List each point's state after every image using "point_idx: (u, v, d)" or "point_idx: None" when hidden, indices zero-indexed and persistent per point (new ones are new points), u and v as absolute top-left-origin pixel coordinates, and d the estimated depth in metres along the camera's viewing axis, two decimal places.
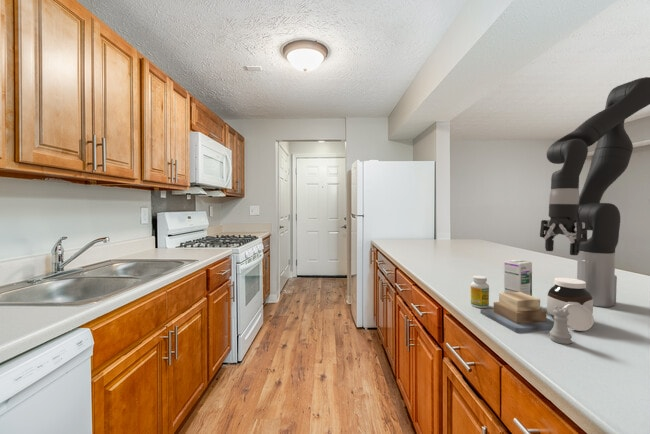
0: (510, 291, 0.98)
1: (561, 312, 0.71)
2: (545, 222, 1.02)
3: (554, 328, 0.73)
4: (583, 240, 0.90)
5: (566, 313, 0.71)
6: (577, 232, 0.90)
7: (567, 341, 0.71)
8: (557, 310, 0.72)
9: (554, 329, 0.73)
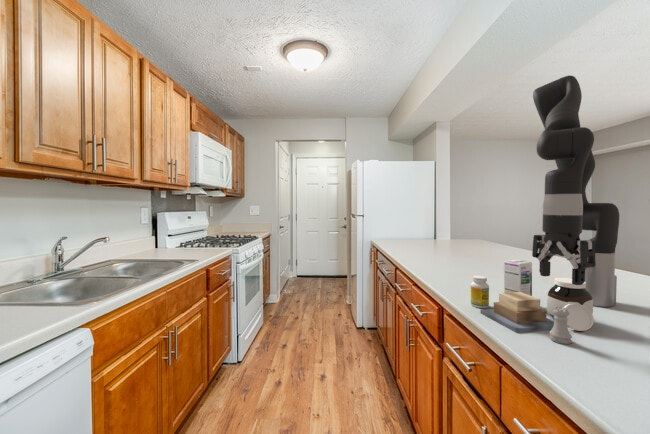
0: (510, 291, 0.98)
1: (561, 312, 0.71)
2: (539, 238, 0.77)
3: (554, 328, 0.73)
4: (590, 265, 0.65)
5: (566, 313, 0.71)
6: (581, 254, 0.66)
7: (567, 341, 0.71)
8: (557, 310, 0.72)
9: (554, 329, 0.73)
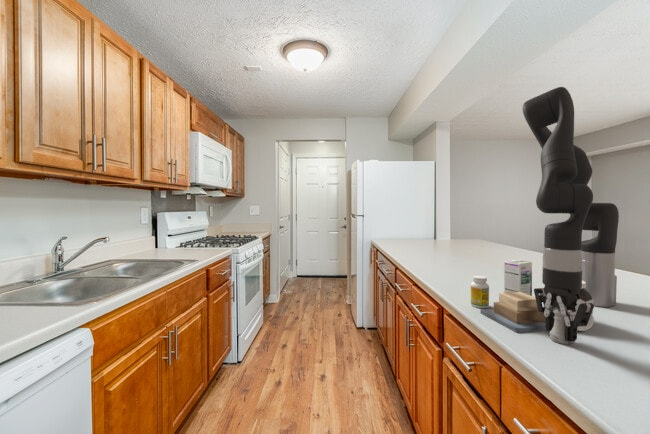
0: (510, 291, 0.98)
1: None
2: (539, 291, 0.78)
3: (554, 328, 0.73)
4: (581, 325, 0.68)
5: None
6: (577, 315, 0.67)
7: (567, 341, 0.71)
8: (557, 310, 0.72)
9: (554, 329, 0.73)
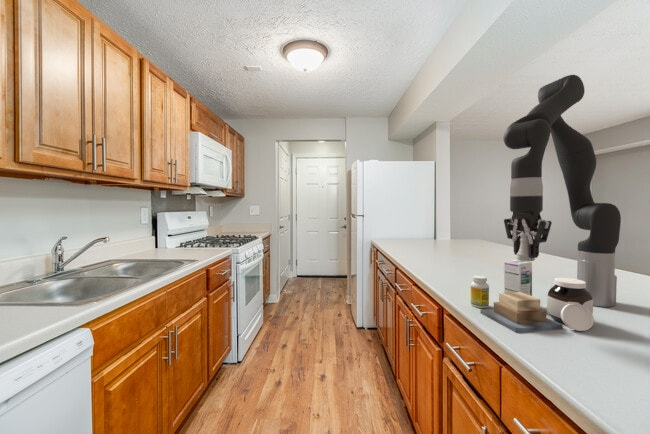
0: (510, 291, 0.98)
1: None
2: (508, 220, 0.88)
3: (520, 249, 0.83)
4: (542, 241, 0.78)
5: None
6: (538, 232, 0.78)
7: (531, 258, 0.81)
8: (522, 232, 0.82)
9: (520, 250, 0.83)
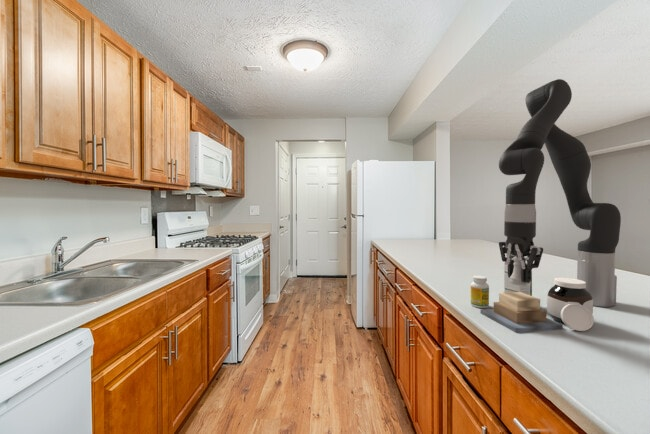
0: (510, 291, 0.98)
1: None
2: (503, 244, 0.90)
3: (513, 273, 0.85)
4: (534, 267, 0.80)
5: None
6: (530, 258, 0.80)
7: (523, 282, 0.83)
8: (515, 257, 0.85)
9: (513, 274, 0.85)
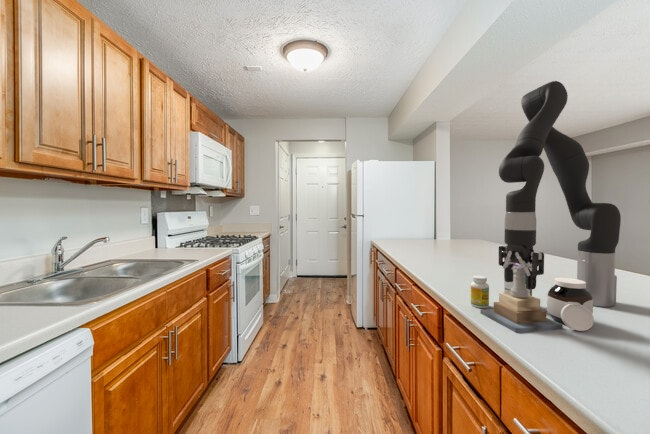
0: (510, 291, 0.98)
1: (519, 271, 0.84)
2: (503, 248, 0.90)
3: (514, 285, 0.85)
4: (539, 273, 0.78)
5: (523, 272, 0.84)
6: (533, 264, 0.79)
7: (524, 295, 0.83)
8: (516, 270, 0.85)
9: (514, 286, 0.85)
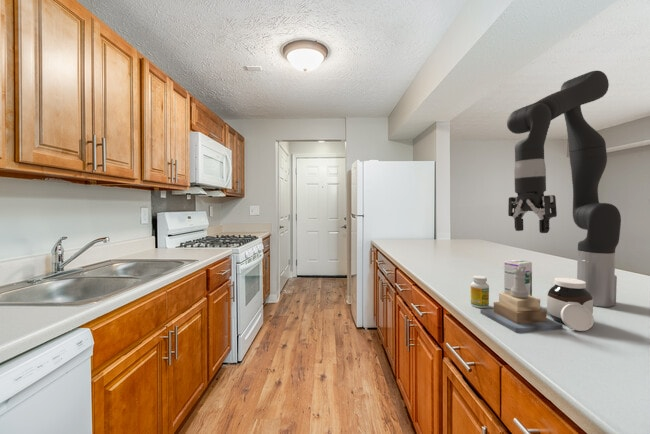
0: (510, 291, 0.98)
1: (519, 271, 0.84)
2: (513, 199, 0.92)
3: (514, 285, 0.85)
4: (552, 215, 0.80)
5: (523, 272, 0.84)
6: (545, 207, 0.81)
7: (524, 295, 0.83)
8: (516, 270, 0.85)
9: (514, 286, 0.85)
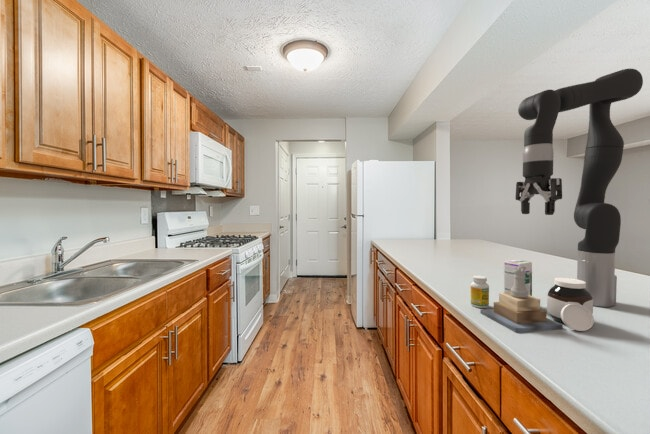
0: (510, 291, 0.98)
1: (519, 271, 0.84)
2: (520, 184, 0.96)
3: (514, 285, 0.85)
4: (558, 197, 0.84)
5: (523, 272, 0.84)
6: (551, 189, 0.84)
7: (524, 295, 0.83)
8: (516, 270, 0.85)
9: (514, 286, 0.85)
